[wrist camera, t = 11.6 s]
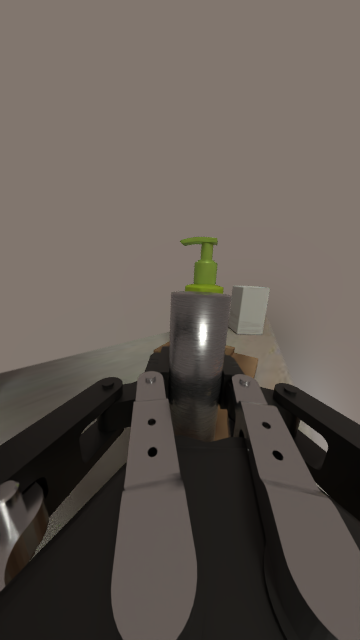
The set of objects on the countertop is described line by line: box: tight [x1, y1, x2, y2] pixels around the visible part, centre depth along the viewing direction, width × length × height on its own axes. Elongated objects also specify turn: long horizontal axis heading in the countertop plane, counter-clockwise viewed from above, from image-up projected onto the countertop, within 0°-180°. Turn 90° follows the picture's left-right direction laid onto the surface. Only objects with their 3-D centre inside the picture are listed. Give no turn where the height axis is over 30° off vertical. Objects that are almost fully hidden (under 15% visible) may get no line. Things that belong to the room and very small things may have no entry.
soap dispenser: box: [180, 237, 223, 294], centre depth 27 cm, size 6×7×20 cm
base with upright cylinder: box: [154, 291, 258, 442], centre depth 20 cm, size 15×25×14 cm, turn 150°
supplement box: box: [228, 286, 270, 335], centre depth 47 cm, size 7×7×13 cm
